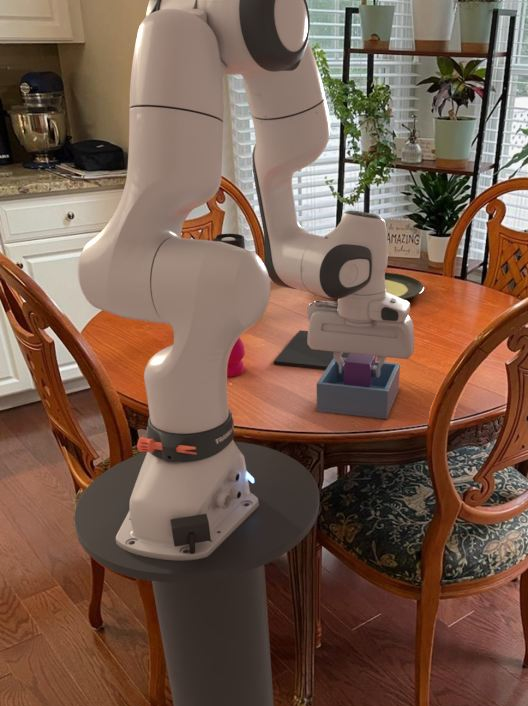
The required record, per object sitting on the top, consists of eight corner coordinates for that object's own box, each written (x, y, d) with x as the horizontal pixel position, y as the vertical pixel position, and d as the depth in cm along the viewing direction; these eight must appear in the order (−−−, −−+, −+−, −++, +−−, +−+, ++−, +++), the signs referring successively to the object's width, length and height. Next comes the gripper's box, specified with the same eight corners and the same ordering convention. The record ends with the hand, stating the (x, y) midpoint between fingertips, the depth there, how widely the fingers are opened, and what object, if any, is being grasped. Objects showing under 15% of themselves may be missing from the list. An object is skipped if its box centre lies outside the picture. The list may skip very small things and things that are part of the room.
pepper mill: (234, 362, 156) (227, 270, 146) (252, 372, 151) (246, 278, 141) (205, 369, 152) (196, 276, 142) (222, 380, 148) (214, 285, 137)
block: (369, 389, 136) (370, 364, 133) (343, 386, 137) (344, 361, 134) (374, 379, 140) (375, 355, 137) (349, 376, 141) (350, 352, 138)
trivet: (363, 373, 152) (363, 370, 152) (273, 364, 155) (273, 361, 155) (380, 341, 169) (381, 337, 168) (299, 333, 172) (299, 330, 172)
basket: (386, 419, 134) (387, 391, 131) (316, 411, 136) (316, 383, 133) (398, 390, 145) (400, 363, 142) (334, 383, 148) (334, 356, 145)
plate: (303, 290, 201) (303, 282, 199) (375, 273, 217) (376, 265, 216) (371, 316, 183) (371, 307, 182) (444, 295, 199) (445, 287, 198)
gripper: (302, 303, 129) (303, 374, 137) (413, 314, 126) (408, 386, 133) (311, 294, 135) (312, 362, 142) (418, 303, 131) (413, 373, 138)
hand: (359, 374), depth 137 cm, fingers closed on block, 5 cm apart
